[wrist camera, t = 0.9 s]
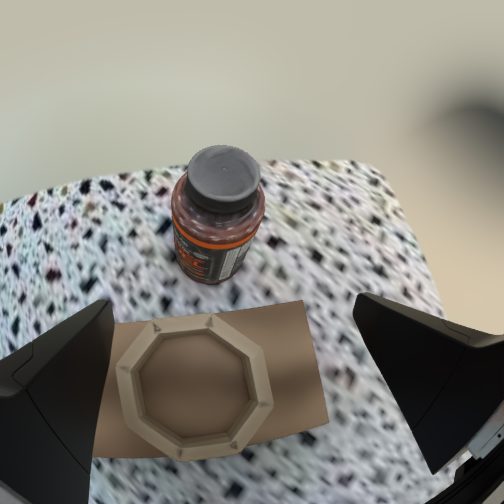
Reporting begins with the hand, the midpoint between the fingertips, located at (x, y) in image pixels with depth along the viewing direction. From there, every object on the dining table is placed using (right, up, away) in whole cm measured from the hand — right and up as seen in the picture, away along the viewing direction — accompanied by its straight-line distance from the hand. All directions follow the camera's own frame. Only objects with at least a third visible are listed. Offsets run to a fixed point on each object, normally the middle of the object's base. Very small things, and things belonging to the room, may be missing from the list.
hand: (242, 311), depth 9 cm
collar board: (-4, -8, +10) cm, 14 cm away
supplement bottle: (-3, +2, +15) cm, 16 cm away
